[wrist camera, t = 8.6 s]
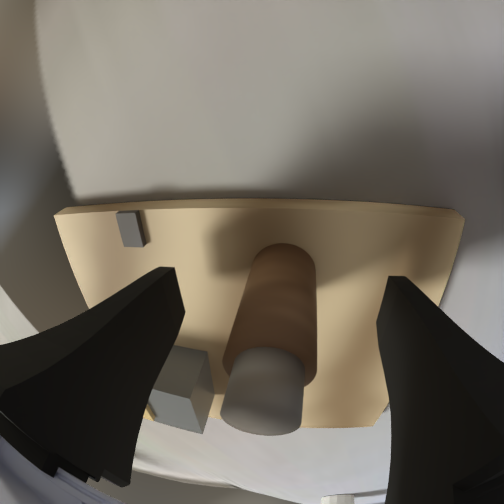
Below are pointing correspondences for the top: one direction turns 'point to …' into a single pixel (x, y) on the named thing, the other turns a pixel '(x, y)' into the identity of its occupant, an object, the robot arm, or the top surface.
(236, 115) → the top surface
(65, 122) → the top surface
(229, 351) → the grey-capped wooden dowel
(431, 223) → the plywood board
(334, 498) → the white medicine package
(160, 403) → the block
